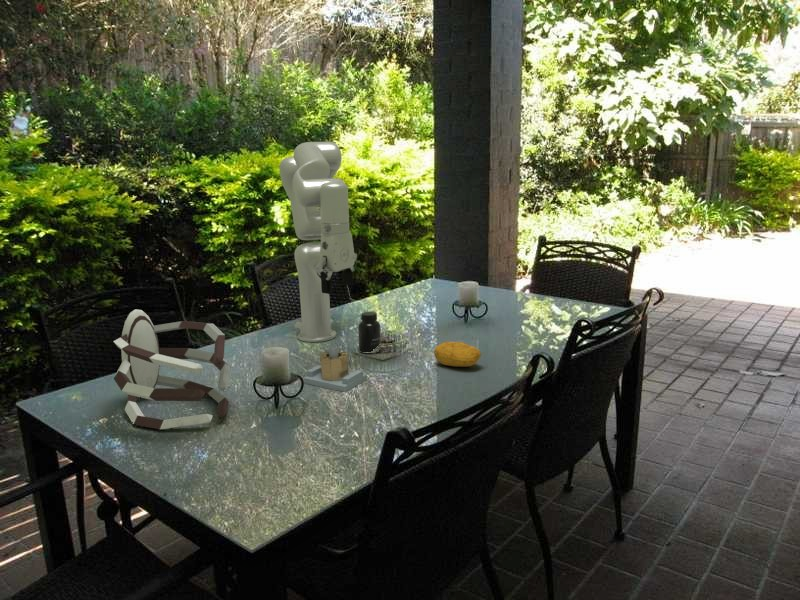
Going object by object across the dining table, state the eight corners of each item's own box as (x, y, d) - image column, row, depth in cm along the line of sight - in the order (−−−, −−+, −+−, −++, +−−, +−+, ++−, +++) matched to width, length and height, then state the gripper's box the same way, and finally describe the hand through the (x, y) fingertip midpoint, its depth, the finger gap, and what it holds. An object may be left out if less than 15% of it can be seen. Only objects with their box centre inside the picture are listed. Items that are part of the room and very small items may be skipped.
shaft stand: (303, 383, 179) (301, 349, 176) (326, 371, 187) (324, 339, 185) (345, 392, 172) (343, 357, 169) (366, 379, 180) (365, 346, 177)
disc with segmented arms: (180, 377, 184) (262, 415, 164) (86, 410, 164) (166, 458, 143) (173, 294, 177) (258, 323, 156) (73, 318, 157) (156, 355, 136)
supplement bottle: (378, 354, 200) (377, 316, 197) (356, 354, 201) (354, 316, 198) (383, 347, 206) (382, 310, 203) (362, 347, 208) (360, 310, 205)
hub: (316, 378, 178) (314, 357, 176) (332, 369, 184) (331, 349, 182) (337, 382, 174) (336, 361, 173) (353, 374, 180) (352, 353, 179)
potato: (443, 358, 195) (442, 336, 194) (484, 366, 188) (485, 343, 186) (429, 366, 189) (429, 343, 187) (472, 374, 182) (472, 351, 180)
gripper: (326, 235, 170) (329, 298, 174) (365, 224, 184) (366, 283, 188) (303, 232, 173) (307, 294, 178) (343, 222, 187) (345, 280, 192)
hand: (337, 289), depth 183 cm, fingers open, 9 cm apart
